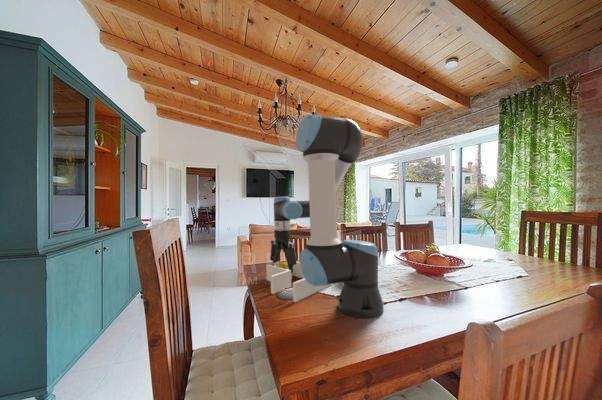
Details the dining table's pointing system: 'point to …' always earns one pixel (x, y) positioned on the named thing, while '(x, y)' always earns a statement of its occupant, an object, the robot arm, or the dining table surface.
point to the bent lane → (283, 280)
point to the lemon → (283, 265)
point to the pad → (286, 295)
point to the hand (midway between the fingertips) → (283, 277)
